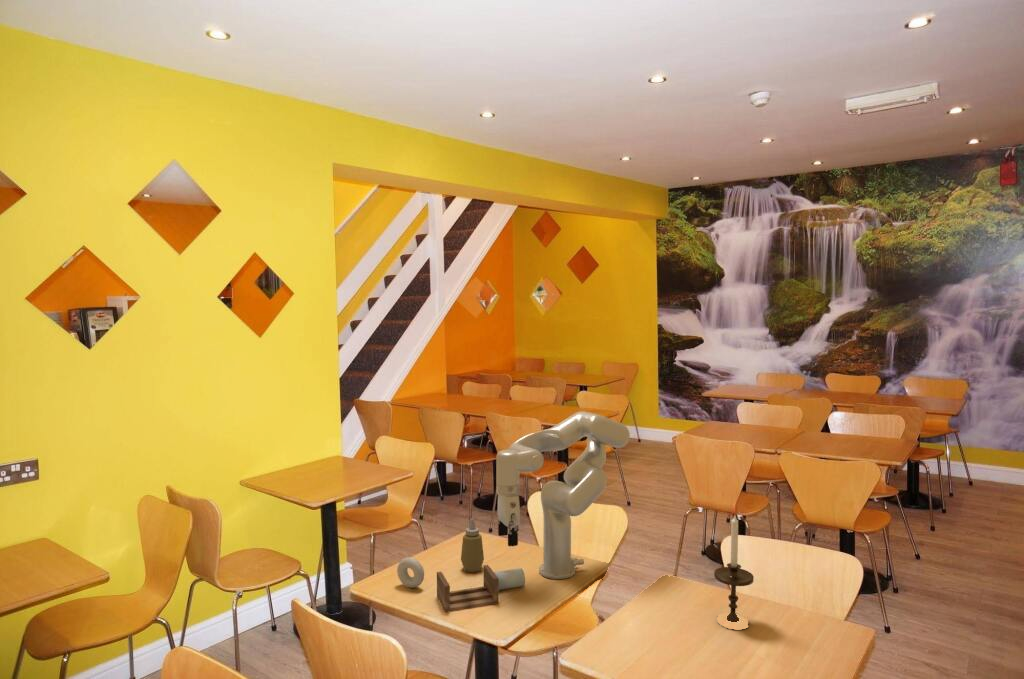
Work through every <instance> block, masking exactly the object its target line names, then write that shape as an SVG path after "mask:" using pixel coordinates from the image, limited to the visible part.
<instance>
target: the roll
mask: <svg viewBox="0 0 1024 679" xmlns="http://www.w3.org/2000/svg"><path fill="white" fill-rule="evenodd" d="M493 572H494V573H495V574H496V576H497V577H498V578H499V591H500V590H506V589H507V590H509V589H513V588H520V587H525V585H526V576H525V572H524V569H523V568H522V567H519V568H514V569H507V570H500V571H493Z"/></svg>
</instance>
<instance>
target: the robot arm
mask: <svg viewBox="0 0 1024 679" xmlns="http://www.w3.org/2000/svg"><path fill="white" fill-rule="evenodd" d="M630 437H631V435H630V429H628V427H627V426H626V425H625V424H623V423H621V422H619V421H616V420H613V419H611V418H608V417H606V416H603V415H602V414H599V413H594V412H588V411H584V410H581V411H576V412H574V413H572V414H571V415H569V416H568V417H567V418H565V419H564V420H562V421H560V422H559V423H557V424H555V425H554V426H552V427H550V428H547V429H541V430H540V431H534V432H532V433H528V434H527V435H524V436H523V437H521V438H519V439H517V440H516V441H515V442H513V443H512V444H511V445H509V446H508V448H507V449H502V450H500V451H498V452H497V454H496V457H495V458H496V461H495V464H496V466H495V467H496V471H495V472H496V475H495V477H496V478H495V479H496V481H495V482H496V484H495V485H496V486H495V487H496V488H495V489H496V490H495V492H496V495H497V508H496V509H497V518H498V520H497V524H498V525H497V534H498V537H503V536H504V537H505V536H507V546H508V547H509V548H510V547H516V546H518V545H519V526H520V525H521V507H520V506H521V504H520V483H521V482H520V478H521V477H520V476H521V475H520V473H533V472H536V471H539V470H540V469H541V468H542V467H543V464H544V460H545V459H544V455H543V453H544V452H556V451H557V452H558V451H564V450H566V449H567V448H569V447H571V445H573V444H575V443H577V442H578V441H579V440H581V439H582V438H587V441H586V442H587V444H586V447H585V449H584V450H583V452H582V453H581V454H580V455H579V456H578V457H577V458H576V459H575V460H574V461H573V462H572V463H571V464H569V466H568V467H567V468H566V469H565V471H564V472H563V473H564V474H563V480H564V482H563V481H559V480H549V481H547V482H546V483H545V484H544V485H543V486H542V488H541V491H540V501H541V506H542V515H543V543H542V544H543V550H542V551H543V552H542V553H543V555H542V556H543V563H542V564H541V565H540V566H539V567H538V572H539V574H540V575H541V576H542V577H545V578H548V579H551V580H563V579H569V578H572V577H573V576H575V574H576V566H581V565H585V560H584V558H579V559H578V557H577V556H576V557H572V519H571V517H579V516H581V515H582V514H583V513H585V511H587V509H589V507H590V506H592V505H593V503H594V502H595V501H596V500H597V499H598V498H599V497H600V496H601V494H603V492H604V490H605V488H606V486H607V483H608V482H607V481H608V476H607V473H606V472H605V470H604V469H602V468H603V467H604V466H605V463H606V460H607V452H606V451H607V449H606V448H607V447H606V446H608V447H613V448H618V449H619V448H620V449H621V448H624V447H625V446H627V444H628V443H629V441H630Z"/></svg>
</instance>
